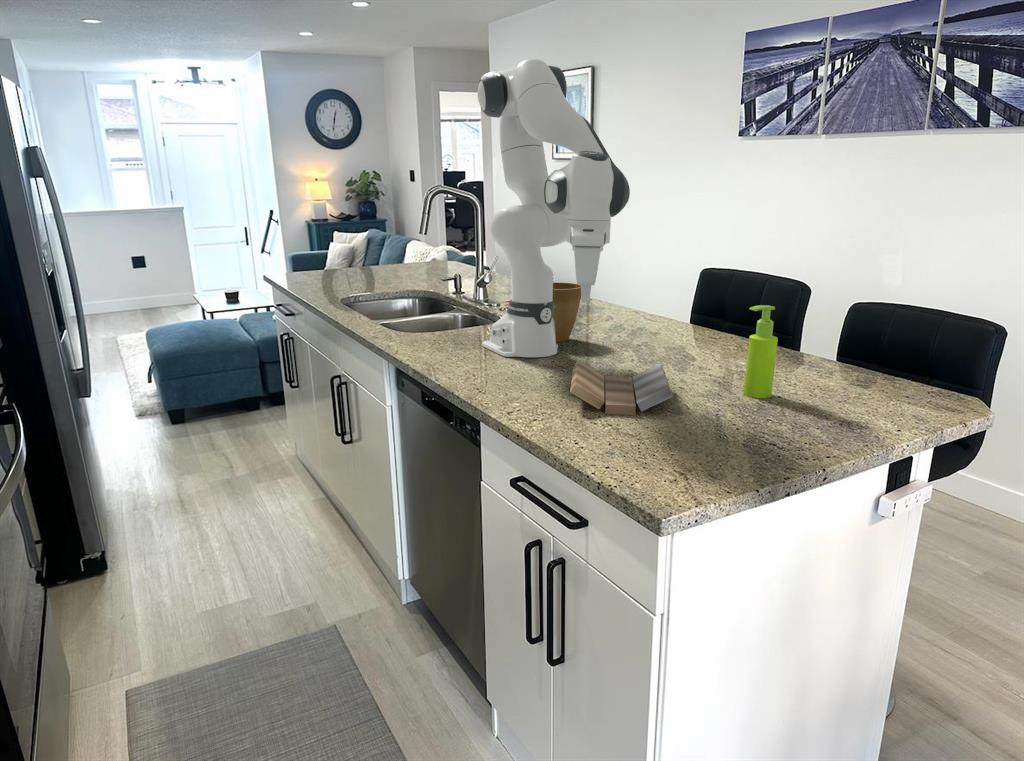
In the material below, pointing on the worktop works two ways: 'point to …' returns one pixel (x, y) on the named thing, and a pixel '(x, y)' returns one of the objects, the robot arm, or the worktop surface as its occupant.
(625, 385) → the walnut strip
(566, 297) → the plant pot
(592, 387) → the smoked oak plank
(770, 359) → the soap dispenser
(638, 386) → the grey plank
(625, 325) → the worktop surface
